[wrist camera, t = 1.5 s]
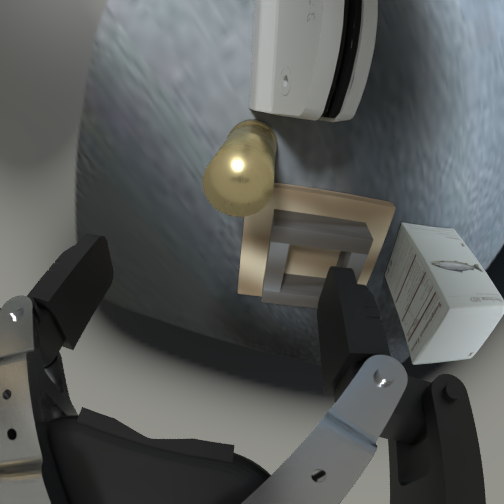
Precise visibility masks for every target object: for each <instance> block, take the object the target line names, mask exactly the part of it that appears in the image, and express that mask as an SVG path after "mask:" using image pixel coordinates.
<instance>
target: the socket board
mask: <svg viewBox="0 0 504 504" xmlns="http://www.w3.org/2000/svg"><path fill="white" fill-rule="evenodd" d="M395 209H396V207H395V206H394V205H393V203H392V202H388V201H383V200H378V199H373V198H368V197H363V196H357V195H352V194H346V193H341V192H335V191H329V190H323V189H316V188H310V187H303V186H297V185H290V184H283V183H275V182H274V190H273V194H272V197H271V199H270V201H269V202H268V204H267V205H266V206H265V207H264V208H263V209H262V210H260V211H259V212H257V213H255V214H253V215H249V216H245V217H244V228H243V239H242V250H241V261H240V272H239V283H238V293H239V294H246V295H254V296H262V299H261V302H266V303H274V304H283V305H291V306H301V307H310V308H318V302H319V298H320V295H321V292H322V289H323V286H324V283H325V280H326V276H327V273H328V270H329V268H330V267H331V266H336V267H344V268H352V269H353V271H354V274H355V277H356V281H357V284H362V285H365V286H366V285H367V283H368V280H369V278H370V275H371V273H372V271H373V268H374V266H375V263H376V261H377V258H378V256H379V253H380V251H381V248H382V245H383V243H384V240H385V237H386V235H387V232H388V229H389V226H390V223H391V221H392V218H393V215H394V212H395Z"/></svg>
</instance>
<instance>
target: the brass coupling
mask: <svg viewBox="0 0 504 504" xmlns="http://www.w3.org/2000/svg"><path fill="white" fill-rule="evenodd" d="M276 151H277V138H276V135H275V133H274V131H273V129H272V128H271V127H270V126H269V125H268V124H266V123H264V122H262V121H259V120H252V119H251V120H245V121H242V122H240V123H239V124H237V125H236V126H235V127H234V128H233V129H232V131H231V132H230V134H229V135H228V137H227V140H226V141H225V142H224V144H223V145H222V146H221V148H220V149H219V151H218V152H217V153H216V155H215V156H214V158H213V159H212V161H211V162H210V163H209V165H208V166H207V168H206V170H205V173H204V176H203V189H204V193H205V195H206V197H207V199H208V201H209V202H210V203H211V204H212V205H213V206H214V207H215V208H216V209H217V210H219V211H220V212H222V213H224V214H227V215H230V216H235V217H244V216H249V215H253V214H255V213H257V212H259V211H260V210H262V209H263V208H264V207H265V206H266V205H267V204H268V202H269V201H270V199H271V197H272V194H273V190H274V172H275V154H276Z"/></svg>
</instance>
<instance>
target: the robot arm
mask: <svg viewBox="0 0 504 504" xmlns="http://www.w3.org/2000/svg"><path fill="white" fill-rule="evenodd" d="M112 280H113V267H112V262H111V258H110V253H109V248H108V243H107V240H106V238H105V237H104V236H99V235H91V234H85V235H84V236H83V237H82V238H81V239H80V240H79V241H78V242H77V244H76V245H75V246H72V247H71V248H69V249H68V250H66V251H65V252H63V253H62V254H61V255H60V256H59V258H58V259H57V260H56V261H55V263H53V264H52V266H51V267H50V268H49V271H47V272H46V273H45V274H44V275H43V277H42V278H41V279H40V281H38V283H37V284H36V285H35V287H34V288H33V289H32V290H31V292H30V293H29V294H28V295H27V296H16V297H13V298H11V299H10V300H9V301H7V302H6V303H5V304H4V305H3V306H2V308H0V504H340V503H341V501H342V500H343V499H344V497H345V496H346V495H347V494H348V492H349V491H350V489H351V488H352V487H353V485H354V484H355V483H356V481H357V480H358V478H359V477H360V476H361V474H362V473H363V471H364V470H365V468H366V467H367V465H368V464H369V462H370V461H371V459H372V458H373V456H374V454H375V452H376V449H377V445H376V441H377V439H378V438H379V437H382V438H386V439H388V444H389V461H390V462H389V463H390V504H486V501H485V487H484V477H483V469H482V461H481V455H480V449H479V443H478V437H477V432H476V427H475V422H474V418H473V414H472V409H471V405H470V401H469V398H468V394H467V390H466V388H465V386H464V384H463V383H462V382H461V381H460V380H459V379H458V378H457V377H455V376H453V375H450V374H442V375H439V376H438V377H437V378H436V379H435V380H434V381H433V382H432V383H431V382H427V381H424V380H420V379H417V378H413V377H411V376H408V375H407V373H406V371H405V369H404V367H403V366H402V365H401V363H399V362H398V361H397V360H396V359H394V358H392V357H391V355H390V352H389V348H388V344H387V340H386V337H385V333H384V329H383V326H382V322H381V320H380V316H379V312H378V310H377V306H376V302H375V299H374V296H373V295H372V293H371V292H370V291H369V290H368V288H367V287H366V286H365V285H362V284H357V281H356V277H355V274H354V271H353V269H352V268H344V267H336V266H331V267H330V268H329V270H328V273H327V276H326V280H325V283H324V286H323V289H322V292H321V295H320V298H319V302H318V308H317V319H318V329H319V340H320V352H321V365H322V379H323V394H324V396H334V399H335V404H334V406H333V407H332V408H331V409H330V411H329V412H328V413H327V414H326V415H325V416H324V418H323V419H322V420H321V421H320V422H319V424H318V425H317V426H316V427H315V429H314V430H313V431H312V432H311V433H310V434H309V436H308V437H307V438H306V439H305V440H304V441H303V443H301V445H300V446H299V447H298V448H297V449H296V450H295V451H294V452H293V453H292V454H291V456H290V457H289V458H288V459H287V460H286V461H285V462H284V463H283V464H282V465H281V466H280V467H279V468H278V469H277V470H276V471H275V472H274V473H273V474H272V475H270V474H269V473H268V472H267V471H266V470H265V469H263V468H262V467H261V466H260V465H258V464H256V463H255V462H253V461H252V460H250V459H247V458H245V457H243V456H241V455H238V454H236V453H233V452H234V445H229V444H222V443H215V442H209V441H203V440H198V439H150V438H147V437H145V436H143V435H141V434H139V433H138V432H136V431H134V430H133V429H131V428H129V427H128V426H126V425H124V424H123V423H121V422H119V421H118V420H116V419H114V418H111V417H108V416H105V415H102V414H99V413H96V412H94V411H91V410H89V409H86V408H83V407H82V410H81V412H80V414H79V415H78V414H77V412H76V410H75V408H74V406H73V405H72V402H71V400H70V397H69V393H68V388H67V384H66V379H65V374H64V369H63V363H62V357H61V354H60V352H59V350H60V349H61V347H62V346H63V347H66V348H69V349H72V350H73V349H74V347H75V346H76V343H77V342H78V340H79V338H80V337H81V335H82V333H83V331H84V329H85V327H86V326H87V324H88V322H89V321H90V319H91V317H92V315H93V314H94V312H95V310H96V309H97V307H98V305H99V303H100V302H101V300H102V299H103V297H104V295H105V294H106V292H107V290H108V289H109V287H110V286H111V283H112Z"/></svg>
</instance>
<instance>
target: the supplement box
mask: <svg viewBox="0 0 504 504" xmlns="http://www.w3.org/2000/svg"><path fill="white" fill-rule="evenodd" d="M385 278H386V281H387V283H388V286H389V289H390V292H391V295H392V298H393V301H394V304H395V307H396V310H397V313H398V316H399V319H400V322H401V325H402V328H403V331H404V334H405V338H406V341H407V344H408V348H409V351H410V355H411V360H412V363H413V364H426V363H436V362H447V361H454V360H462V359H470V358H472V356H474V355H475V353H476V352H477V351H478V350H479V348H480V347H481V346H482V344H483V343H484V342H485V340H486V339H487V338H488V336H489V335H490V333H491V332H492V331H493V329H494V328H495V326H496V325H497V323H498V322H499V320H500V319H501V317H502V316H503V314H504V300H503V298H502V297H501V295H500V294H499V292H498V290H497V289H496V287H495V286H494V284H493V282H492V281H491V280H490V278H489V276H488V275H487V273H486V272H485V270H484V269H483V268H482V266H481V265H480V263H479V262H478V260H477V259H476V258H475V256H474V255H473V253H472V252H471V251H470V249H469V248H468V247H467V245H466V244H465V243H464V241H463V240H462V239H461V237H460V236H459V235H458V234H457V232H456V231H455V230H454V229H449V228H438V227H430V226H423V225H416V224H409V223H404V222H402V223H401V226H400V229H399V232H398V236H397V239H396V242H395V245H394V248H393V251H392V254H391V257H390V260H389V263H388V266H387V269H386V272H385Z"/></svg>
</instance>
